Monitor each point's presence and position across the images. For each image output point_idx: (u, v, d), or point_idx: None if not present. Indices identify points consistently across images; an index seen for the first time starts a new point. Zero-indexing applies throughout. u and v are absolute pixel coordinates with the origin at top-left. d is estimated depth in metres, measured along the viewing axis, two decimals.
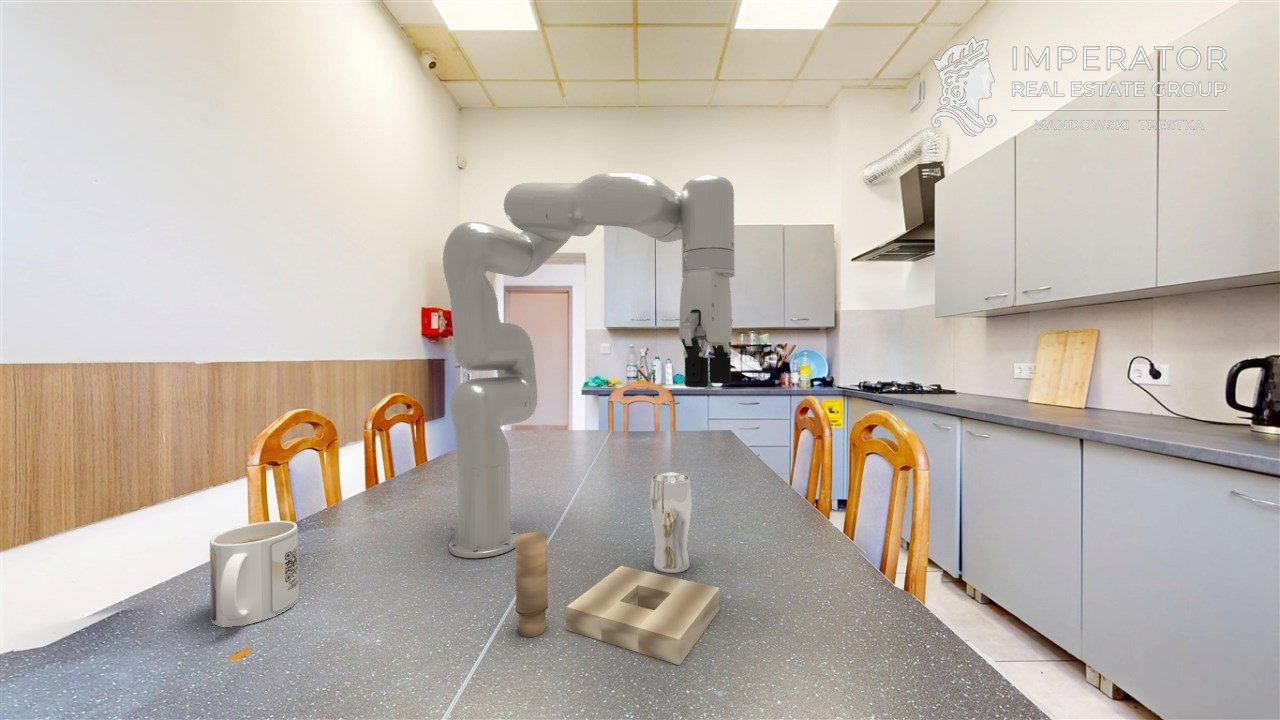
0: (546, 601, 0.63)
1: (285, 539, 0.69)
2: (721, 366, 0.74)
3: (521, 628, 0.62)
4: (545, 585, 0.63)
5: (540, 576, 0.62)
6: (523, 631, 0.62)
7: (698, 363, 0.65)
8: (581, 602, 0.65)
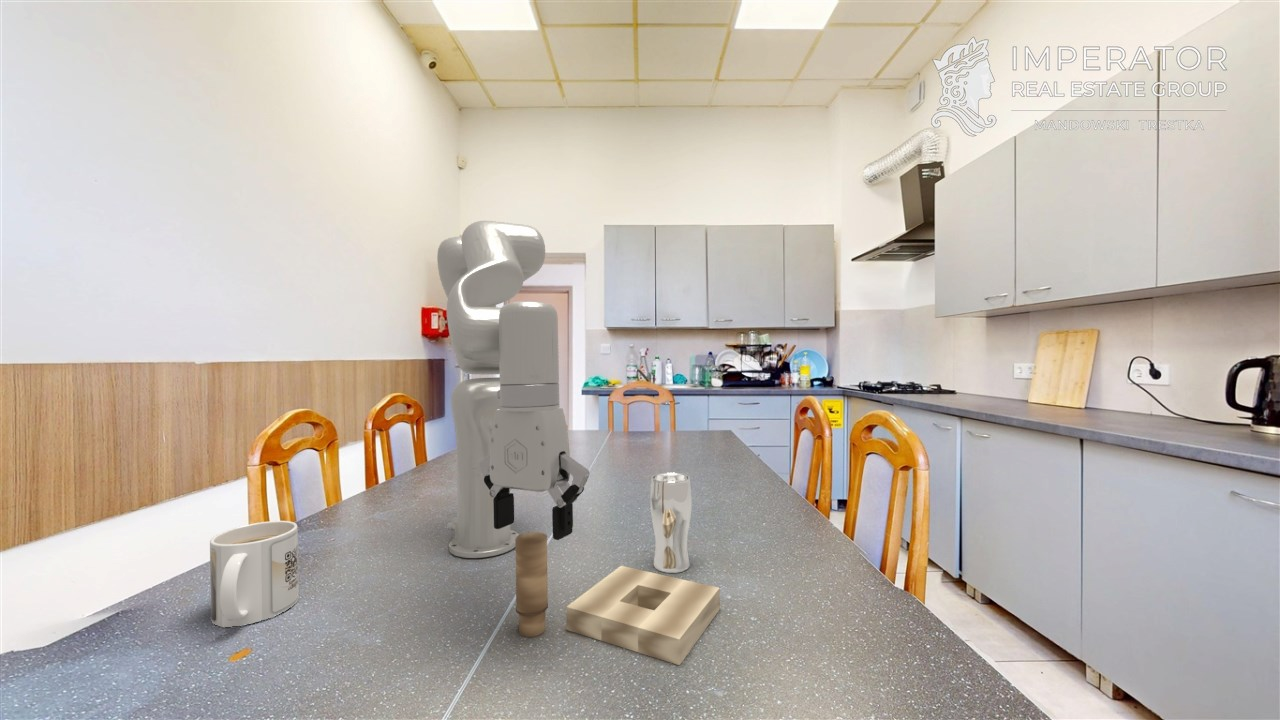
0: (546, 601, 0.63)
1: (285, 539, 0.69)
2: (508, 506, 0.65)
3: (521, 628, 0.62)
4: (545, 585, 0.63)
5: (540, 576, 0.62)
6: (523, 631, 0.62)
7: (572, 510, 0.61)
8: (581, 602, 0.65)
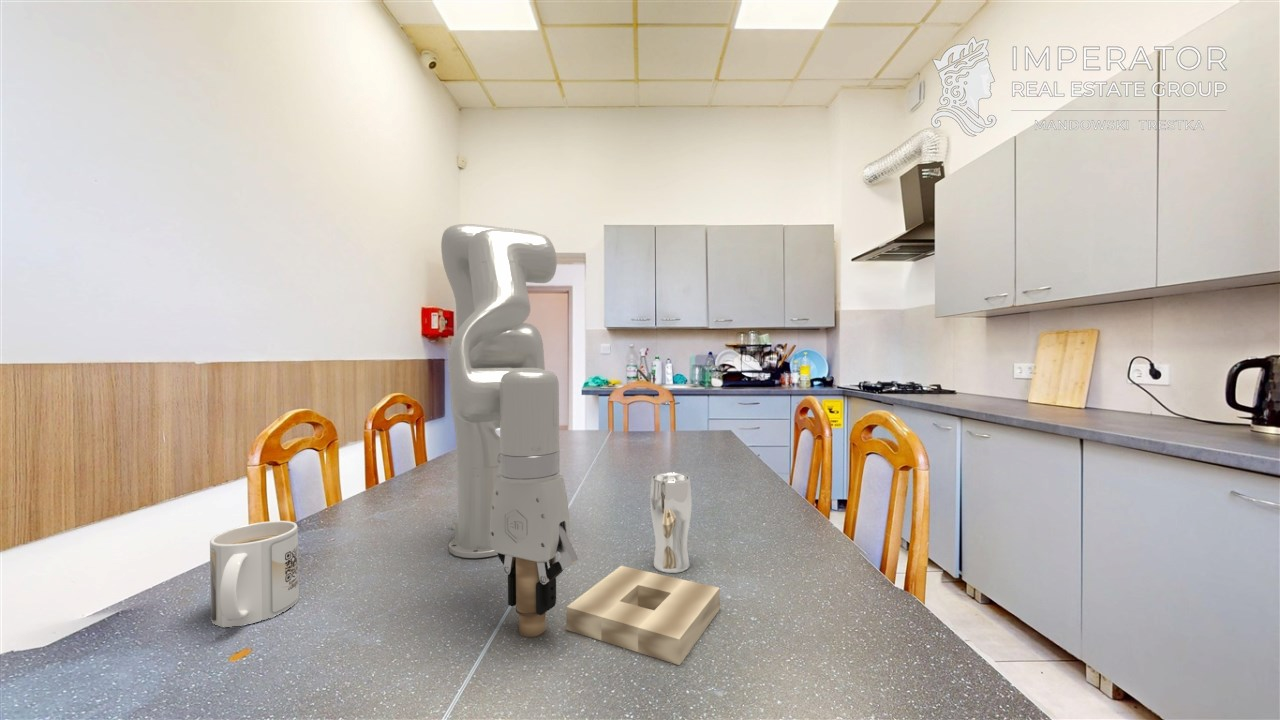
0: None
1: (285, 539, 0.69)
2: None
3: (521, 628, 0.62)
4: None
5: None
6: (523, 631, 0.62)
7: (555, 584, 0.63)
8: (581, 602, 0.65)
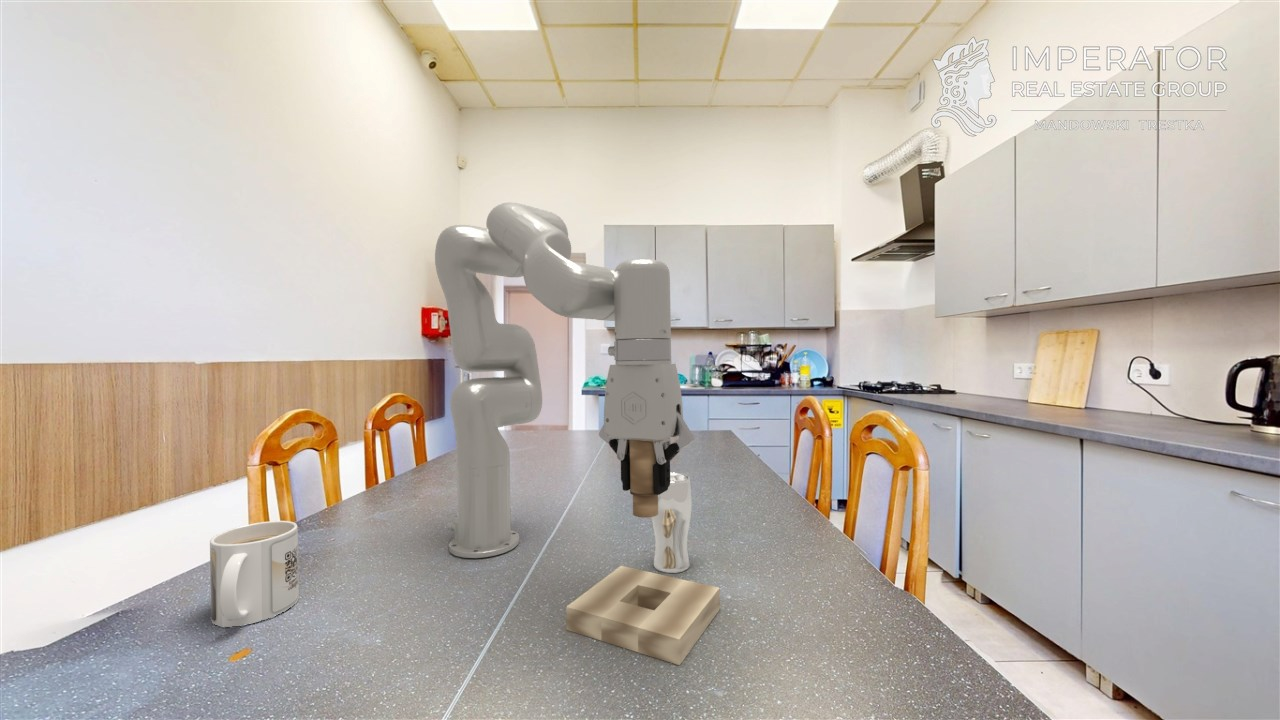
0: None
1: (285, 539, 0.69)
2: None
3: (637, 510, 0.64)
4: None
5: (655, 459, 0.64)
6: (639, 512, 0.64)
7: (669, 467, 0.65)
8: (581, 602, 0.65)
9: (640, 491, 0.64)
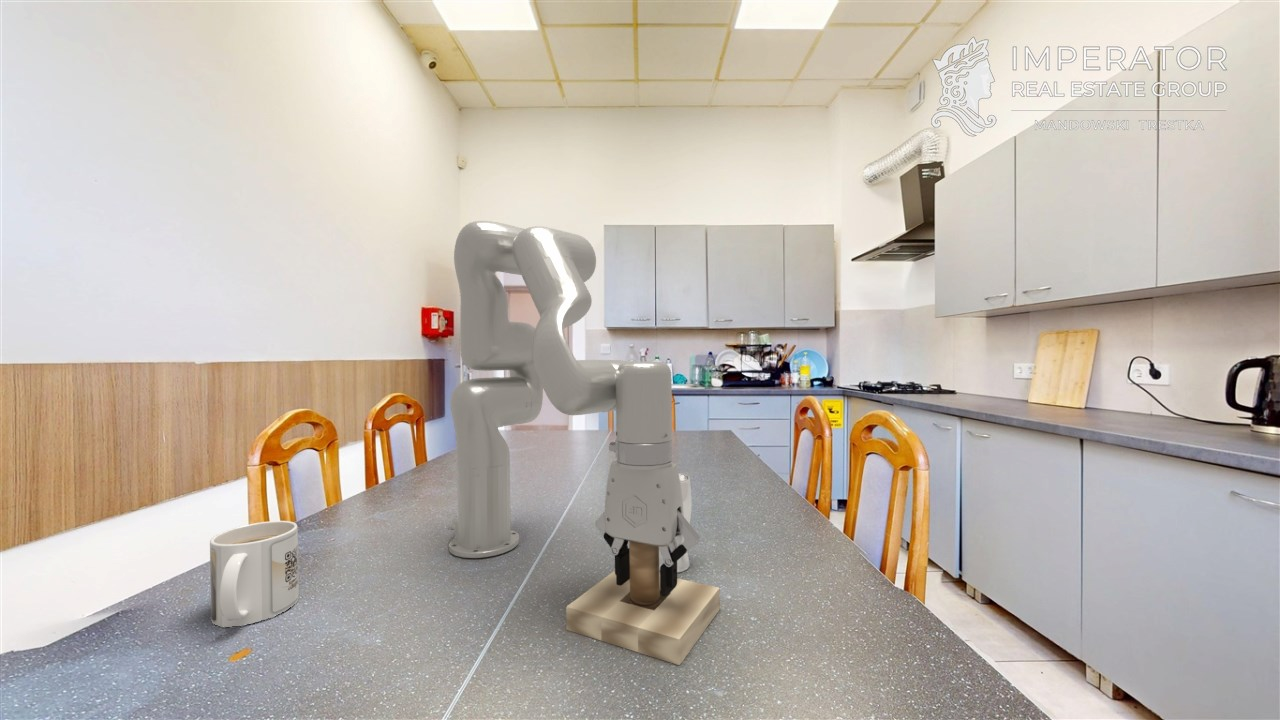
0: (659, 591, 0.66)
1: (285, 539, 0.69)
2: (628, 562, 0.68)
3: None
4: (658, 576, 0.65)
5: (655, 567, 0.65)
6: None
7: (676, 567, 0.64)
8: (581, 602, 0.65)
9: (640, 600, 0.64)
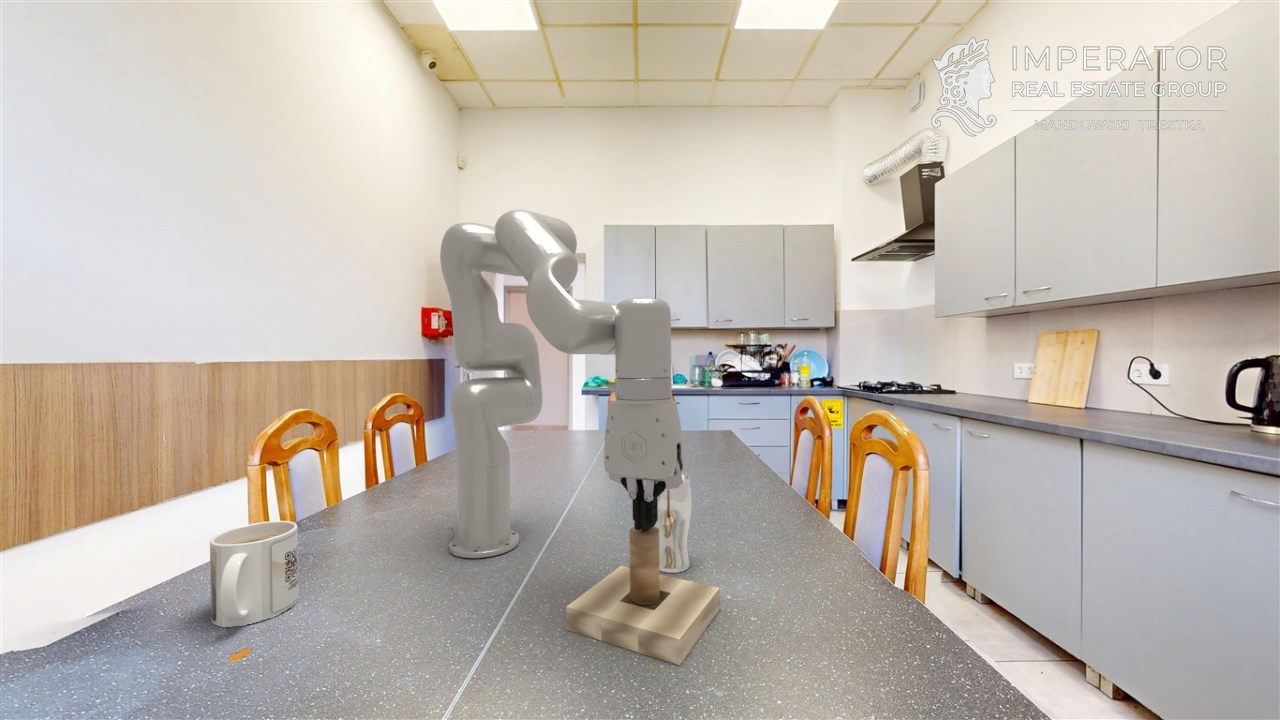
0: (659, 591, 0.66)
1: (285, 539, 0.69)
2: None
3: None
4: (659, 576, 0.65)
5: (655, 567, 0.65)
6: None
7: (657, 503, 0.66)
8: (581, 602, 0.65)
9: (640, 600, 0.64)
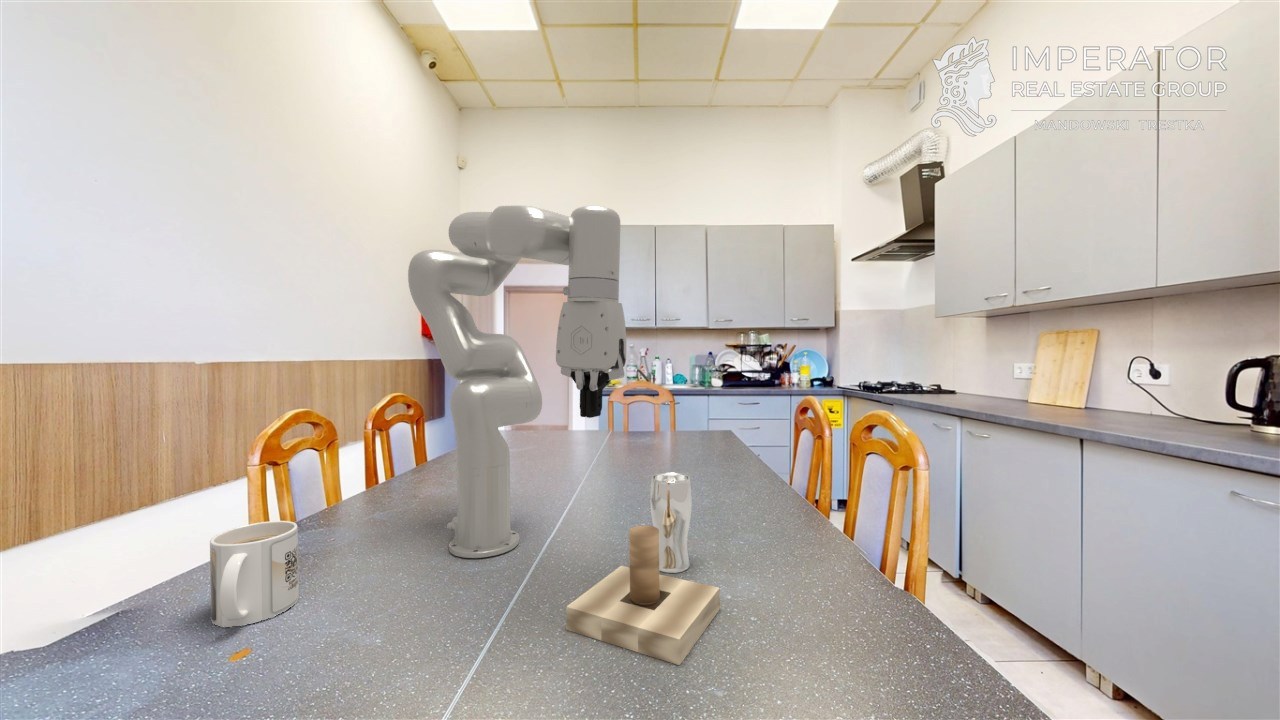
0: (659, 592, 0.65)
1: (285, 539, 0.69)
2: None
3: None
4: (658, 576, 0.65)
5: (655, 568, 0.64)
6: None
7: (601, 395, 0.73)
8: (581, 602, 0.65)
9: (640, 600, 0.64)
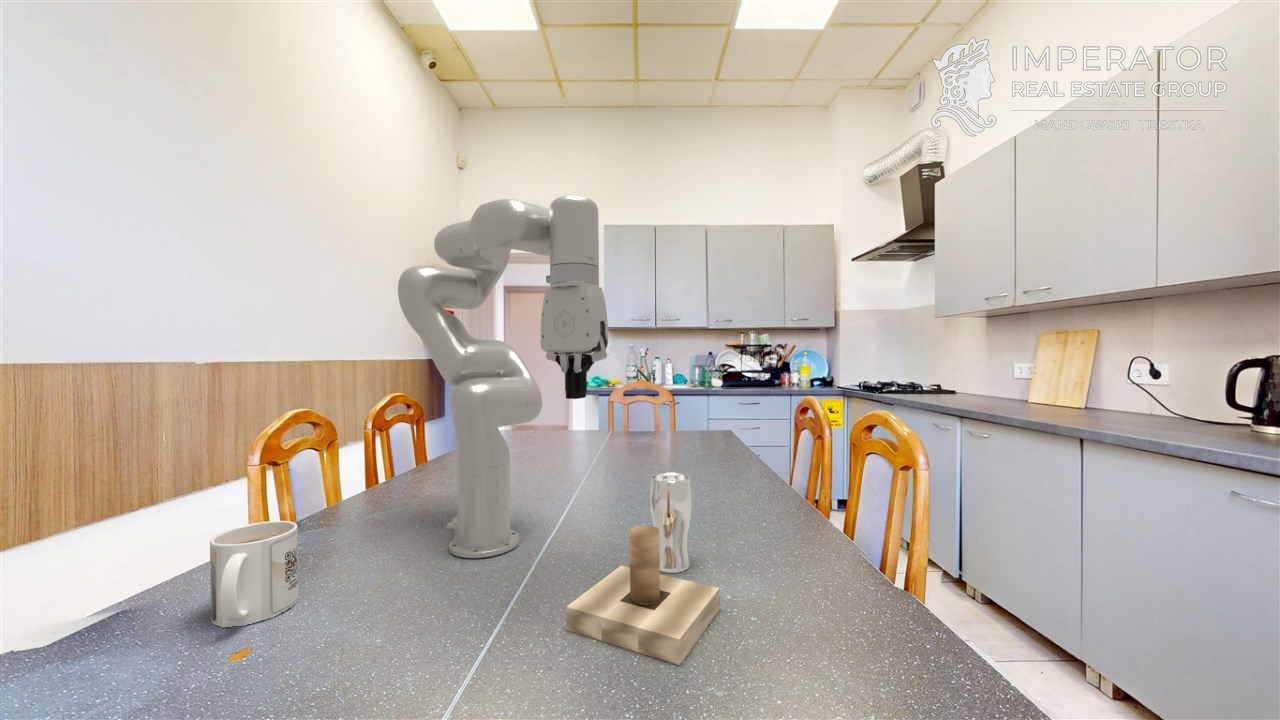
0: (659, 592, 0.65)
1: (285, 539, 0.69)
2: None
3: None
4: (659, 576, 0.65)
5: (656, 568, 0.64)
6: None
7: (586, 377, 0.76)
8: (581, 602, 0.65)
9: (640, 600, 0.64)
